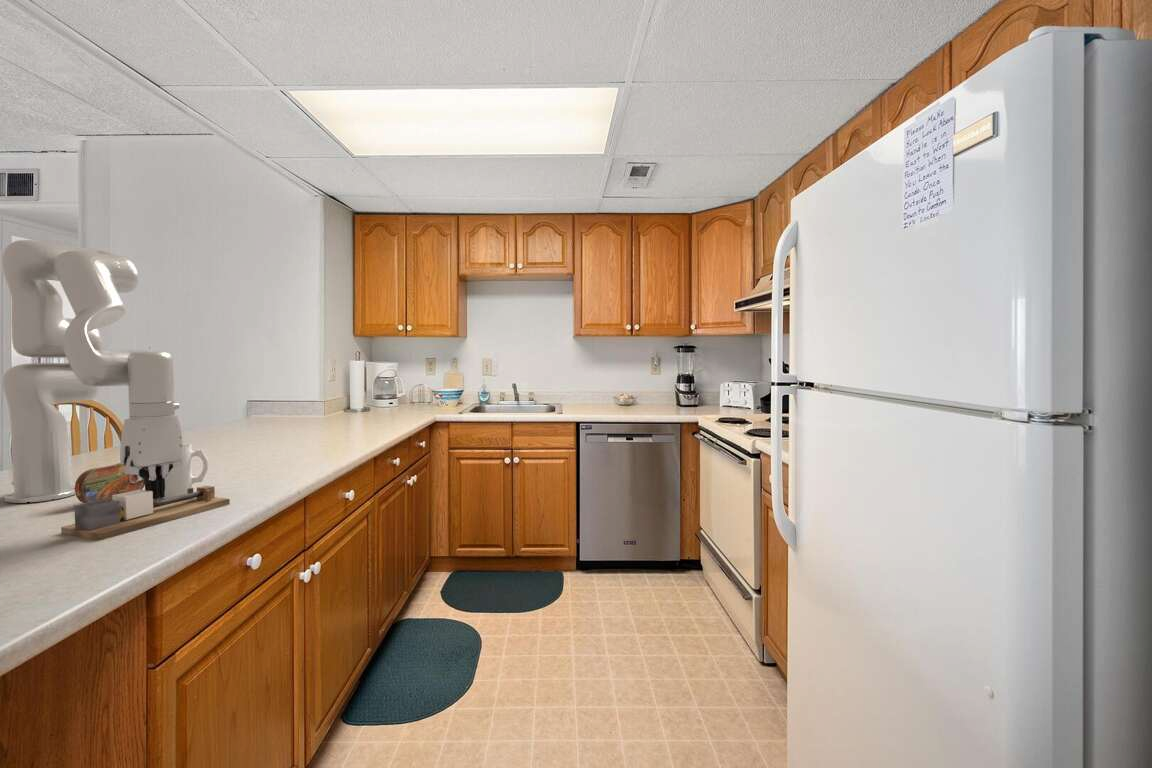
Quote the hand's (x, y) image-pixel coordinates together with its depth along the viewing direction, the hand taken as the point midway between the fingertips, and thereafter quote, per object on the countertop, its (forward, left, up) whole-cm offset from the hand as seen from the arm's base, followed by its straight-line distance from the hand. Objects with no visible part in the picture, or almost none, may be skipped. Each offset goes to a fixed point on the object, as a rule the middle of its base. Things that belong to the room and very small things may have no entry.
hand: (155, 497), depth 116 cm
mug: (-12, +14, -4) cm, 19 cm away
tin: (-23, +5, -4) cm, 24 cm away
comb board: (0, -1, -4) cm, 4 cm away
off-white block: (0, -4, -3) cm, 5 cm away
